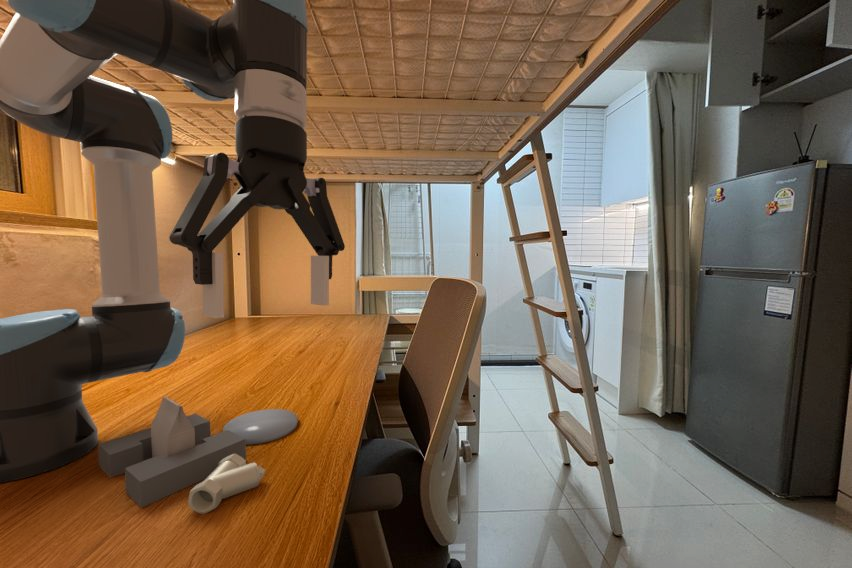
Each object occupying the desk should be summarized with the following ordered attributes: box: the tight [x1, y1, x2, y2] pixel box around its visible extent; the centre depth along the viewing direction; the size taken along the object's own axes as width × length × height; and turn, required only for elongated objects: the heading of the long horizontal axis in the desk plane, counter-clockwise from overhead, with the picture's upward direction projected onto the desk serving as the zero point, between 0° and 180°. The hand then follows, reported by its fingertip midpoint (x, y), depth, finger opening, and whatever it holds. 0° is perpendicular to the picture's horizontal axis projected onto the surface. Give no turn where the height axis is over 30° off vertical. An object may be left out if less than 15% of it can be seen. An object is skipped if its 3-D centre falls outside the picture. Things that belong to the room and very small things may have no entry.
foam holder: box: [97, 413, 247, 509], centre depth 58 cm, size 17×14×4 cm
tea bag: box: [150, 396, 195, 458], centre depth 57 cm, size 4×7×10 cm, turn 54°
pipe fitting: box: [188, 453, 266, 514], centre depth 50 cm, size 8×4×7 cm
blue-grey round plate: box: [222, 408, 298, 446], centre depth 70 cm, size 13×13×1 cm
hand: (273, 310), depth 43 cm, fingers open, 13 cm apart
